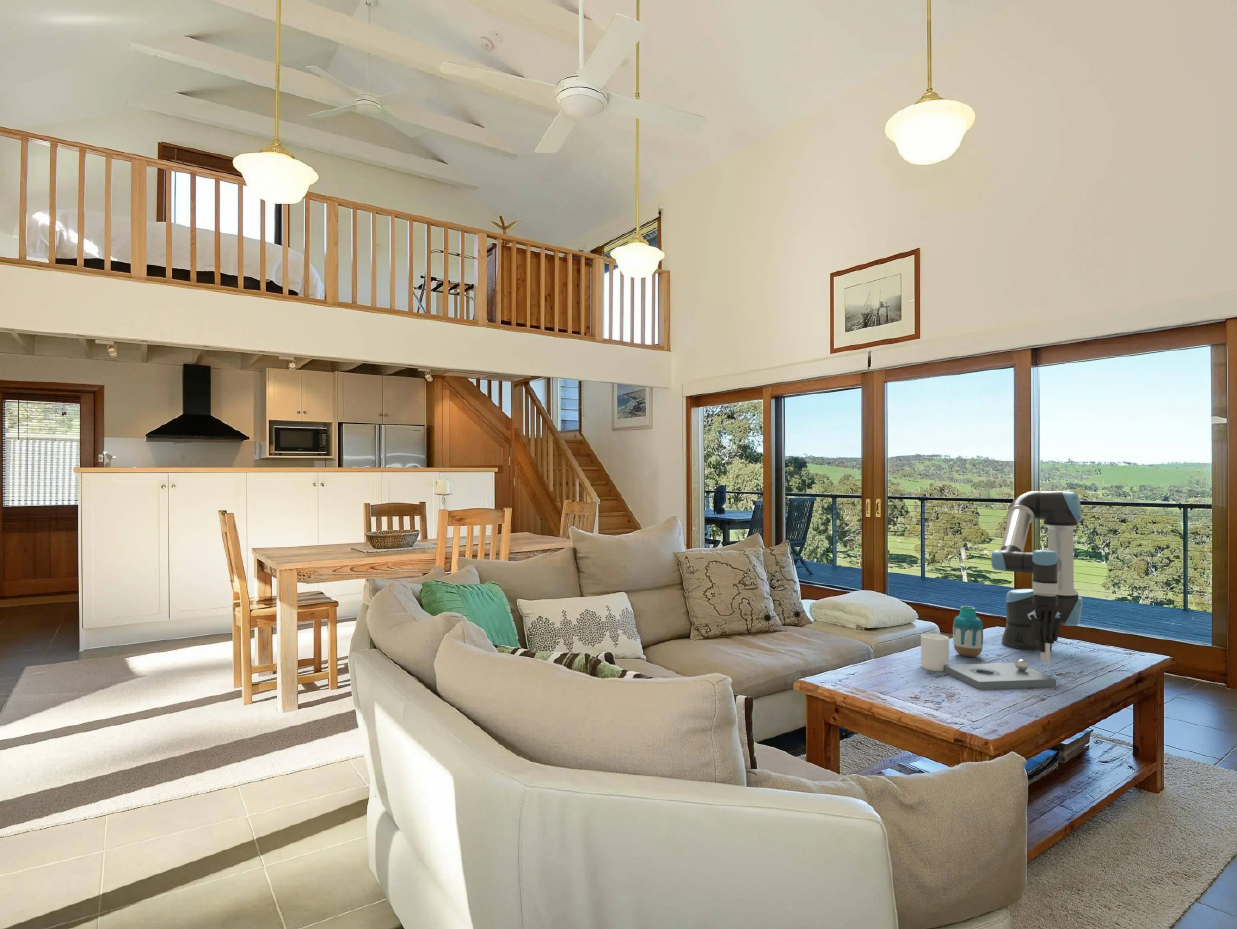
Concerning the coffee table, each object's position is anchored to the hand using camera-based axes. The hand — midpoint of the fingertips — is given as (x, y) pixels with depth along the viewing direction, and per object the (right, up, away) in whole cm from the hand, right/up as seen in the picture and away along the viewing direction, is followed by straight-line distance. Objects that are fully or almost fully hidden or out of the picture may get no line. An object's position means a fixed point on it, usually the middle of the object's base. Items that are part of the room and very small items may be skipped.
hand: (1045, 661), depth 241 cm
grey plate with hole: (-18, -6, -2) cm, 19 cm away
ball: (-9, -1, -1) cm, 9 cm away
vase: (-13, -6, +28) cm, 31 cm away
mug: (-34, -6, +12) cm, 37 cm away
